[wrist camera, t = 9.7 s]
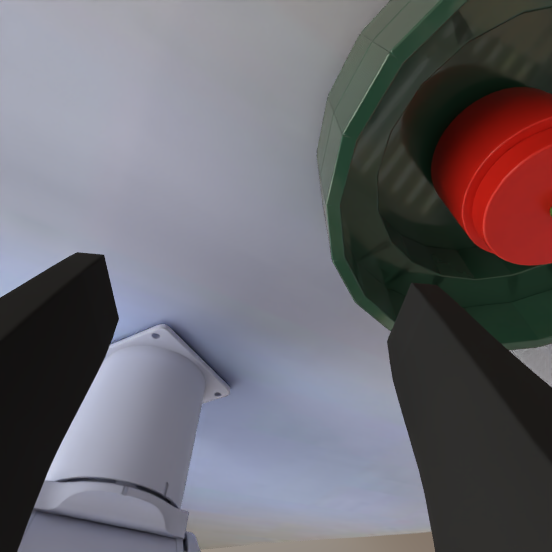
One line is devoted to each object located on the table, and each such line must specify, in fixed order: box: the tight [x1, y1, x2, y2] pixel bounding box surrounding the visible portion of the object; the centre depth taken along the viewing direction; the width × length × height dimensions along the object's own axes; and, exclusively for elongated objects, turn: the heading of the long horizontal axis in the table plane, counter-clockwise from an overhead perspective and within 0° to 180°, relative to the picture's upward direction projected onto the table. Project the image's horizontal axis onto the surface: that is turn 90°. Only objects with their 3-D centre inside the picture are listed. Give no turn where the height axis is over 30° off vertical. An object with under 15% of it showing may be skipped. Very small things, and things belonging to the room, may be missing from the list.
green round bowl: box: [317, 0, 552, 350], centre depth 14 cm, size 15×15×6 cm
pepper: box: [431, 87, 552, 265], centre depth 14 cm, size 5×5×6 cm
